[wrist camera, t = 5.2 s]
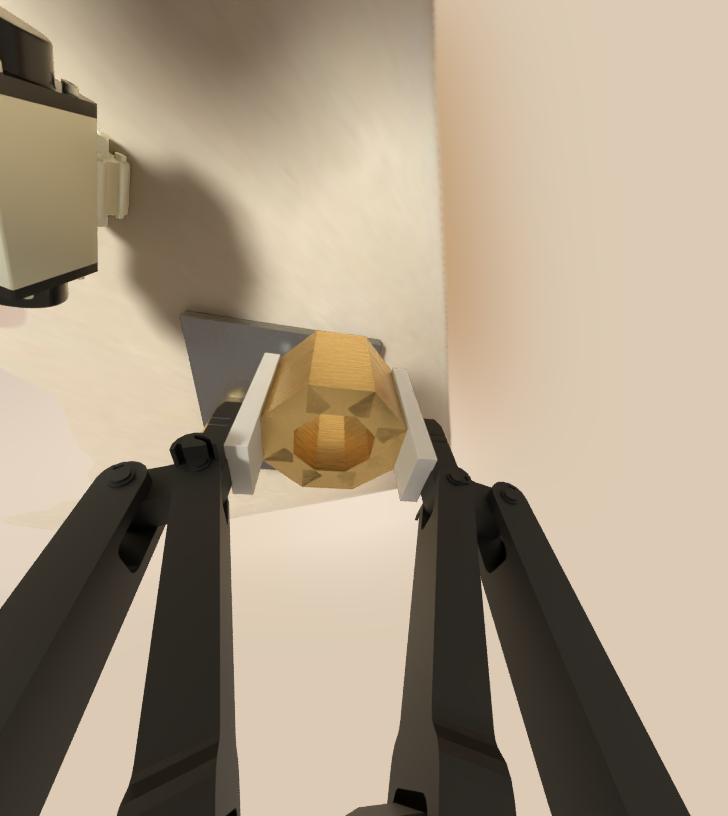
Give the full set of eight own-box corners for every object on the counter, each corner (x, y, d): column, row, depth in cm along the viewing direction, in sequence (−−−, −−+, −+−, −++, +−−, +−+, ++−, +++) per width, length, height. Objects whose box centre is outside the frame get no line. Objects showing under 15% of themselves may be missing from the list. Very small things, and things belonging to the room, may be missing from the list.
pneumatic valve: (149, 90, 17) (-81, -19, 8) (136, 273, 23) (-1, 335, 14) (33, 14, 15) (-463, -256, 6) (52, 235, 21) (-174, 278, 12)
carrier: (185, 310, 25) (143, 346, 20) (380, 339, 28) (389, 377, 23) (215, 458, 37) (194, 505, 32) (349, 467, 40) (350, 512, 35)
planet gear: (280, 325, 14) (257, 379, 10) (398, 341, 15) (419, 396, 11) (281, 418, 17) (264, 485, 14) (376, 426, 18) (386, 491, 14)
